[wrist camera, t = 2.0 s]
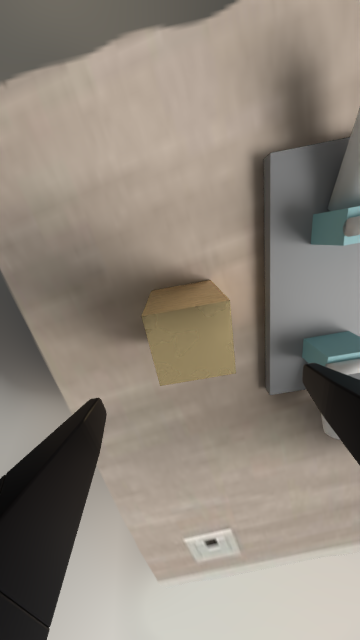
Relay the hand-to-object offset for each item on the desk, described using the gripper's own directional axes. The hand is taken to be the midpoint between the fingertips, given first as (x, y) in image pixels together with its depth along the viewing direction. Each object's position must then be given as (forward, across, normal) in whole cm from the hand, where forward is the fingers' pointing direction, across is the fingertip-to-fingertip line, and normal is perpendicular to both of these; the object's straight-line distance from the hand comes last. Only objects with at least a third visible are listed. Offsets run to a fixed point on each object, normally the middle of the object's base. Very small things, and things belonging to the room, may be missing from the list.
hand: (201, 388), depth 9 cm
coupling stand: (+10, -12, 0) cm, 15 cm away
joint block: (+10, 0, 0) cm, 10 cm away
